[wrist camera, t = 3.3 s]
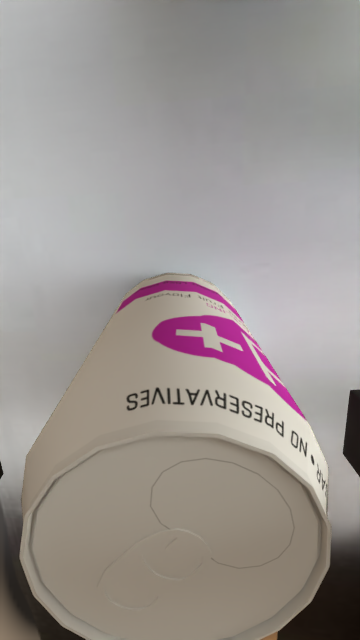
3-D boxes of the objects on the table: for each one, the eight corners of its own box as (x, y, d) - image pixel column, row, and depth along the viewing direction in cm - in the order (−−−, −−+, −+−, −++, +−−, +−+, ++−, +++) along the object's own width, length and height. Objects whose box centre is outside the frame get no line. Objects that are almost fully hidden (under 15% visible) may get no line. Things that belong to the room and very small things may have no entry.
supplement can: (171, 242, 20) (164, 316, 6) (262, 330, 22) (432, 554, 7) (87, 334, 22) (-82, 569, 7) (178, 408, 23) (184, 712, 9)
